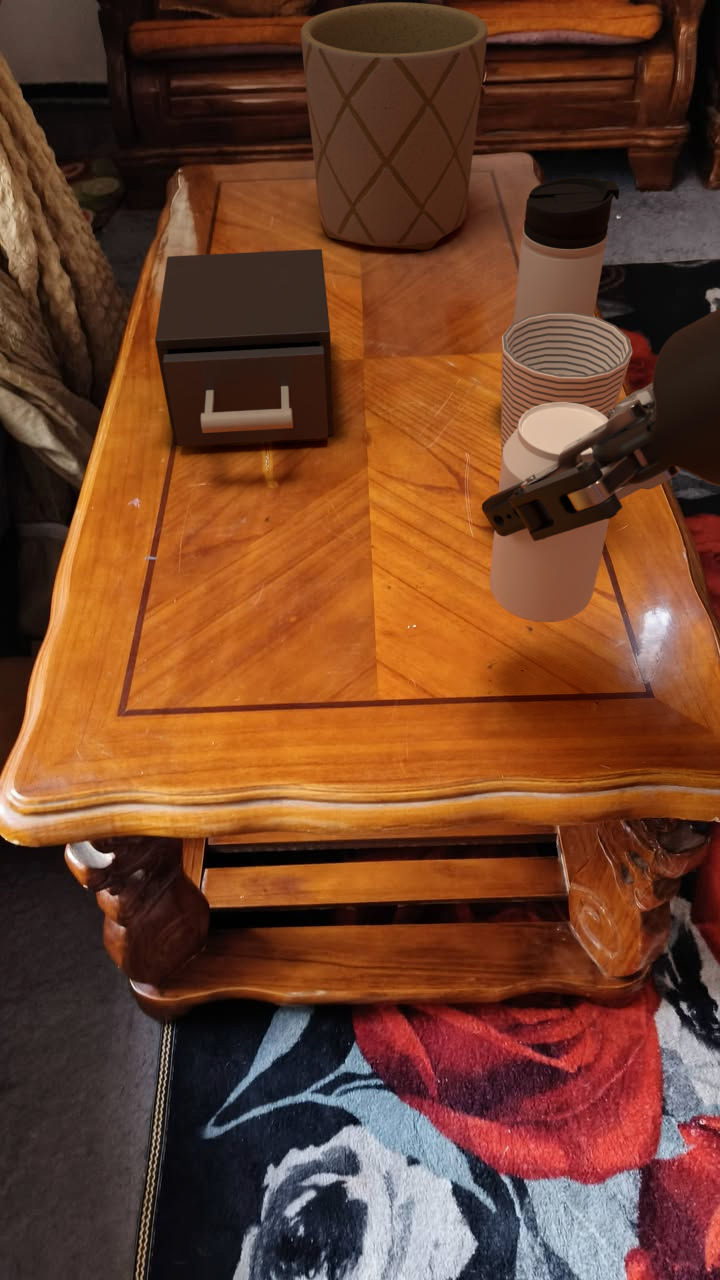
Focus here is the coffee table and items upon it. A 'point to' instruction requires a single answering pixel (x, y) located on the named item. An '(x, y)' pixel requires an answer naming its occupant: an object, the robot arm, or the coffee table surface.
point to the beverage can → (560, 564)
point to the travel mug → (563, 246)
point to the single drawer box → (244, 306)
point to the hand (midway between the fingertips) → (529, 488)
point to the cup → (561, 364)
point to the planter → (393, 119)
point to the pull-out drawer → (247, 393)
